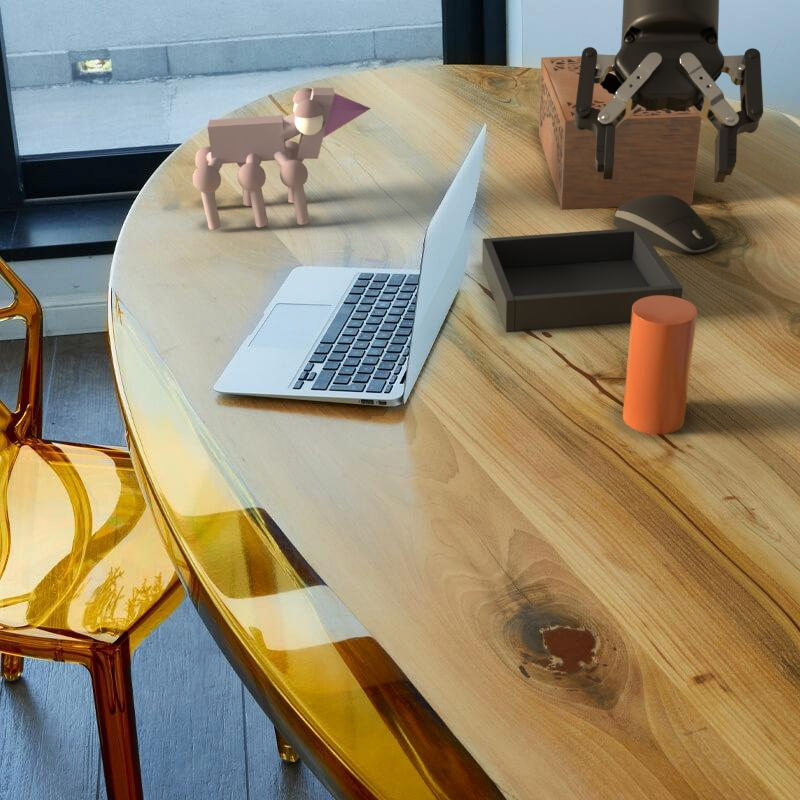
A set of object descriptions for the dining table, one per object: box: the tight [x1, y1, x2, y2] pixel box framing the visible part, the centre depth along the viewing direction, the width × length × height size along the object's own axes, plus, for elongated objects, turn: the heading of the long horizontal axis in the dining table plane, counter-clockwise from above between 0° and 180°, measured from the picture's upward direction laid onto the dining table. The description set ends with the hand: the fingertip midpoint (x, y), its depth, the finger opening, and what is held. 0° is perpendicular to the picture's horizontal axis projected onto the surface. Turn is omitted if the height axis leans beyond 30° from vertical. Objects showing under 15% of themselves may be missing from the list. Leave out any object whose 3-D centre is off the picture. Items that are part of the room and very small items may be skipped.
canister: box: [622, 295, 698, 435], centre depth 80 cm, size 5×5×10 cm
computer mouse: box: [613, 194, 718, 256], centre depth 111 cm, size 7×12×4 cm, turn 32°
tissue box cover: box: [538, 55, 703, 210], centre depth 128 cm, size 26×14×10 cm, turn 179°
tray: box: [481, 228, 684, 333], centre depth 100 cm, size 16×14×4 cm
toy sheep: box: [192, 87, 372, 231], centre depth 118 cm, size 20×11×14 cm, turn 95°
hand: (664, 177), depth 84 cm, fingers open, 8 cm apart
